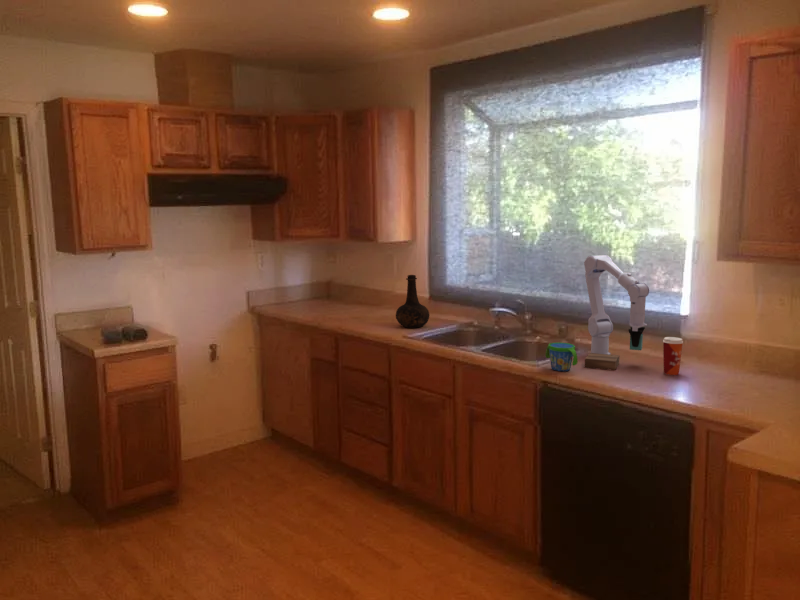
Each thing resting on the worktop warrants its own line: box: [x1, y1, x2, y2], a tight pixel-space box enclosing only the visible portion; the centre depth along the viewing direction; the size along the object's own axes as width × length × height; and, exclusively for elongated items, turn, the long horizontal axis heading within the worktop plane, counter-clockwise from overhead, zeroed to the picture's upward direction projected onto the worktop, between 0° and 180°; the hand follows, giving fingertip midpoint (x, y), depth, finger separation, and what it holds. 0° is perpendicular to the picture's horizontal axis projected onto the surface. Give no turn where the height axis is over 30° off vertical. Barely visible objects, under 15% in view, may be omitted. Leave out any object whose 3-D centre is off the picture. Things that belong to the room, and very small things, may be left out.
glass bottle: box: [395, 274, 430, 329], centre depth 378 cm, size 18×18×28 cm
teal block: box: [629, 333, 644, 351], centre depth 292 cm, size 4×4×6 cm
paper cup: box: [662, 336, 684, 376], centre depth 279 cm, size 8×8×14 cm
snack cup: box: [545, 342, 578, 372], centre depth 285 cm, size 16×10×10 cm
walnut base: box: [584, 352, 620, 371], centre depth 293 cm, size 12×12×4 cm
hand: (635, 345), depth 292 cm, fingers closed on teal block, 4 cm apart
